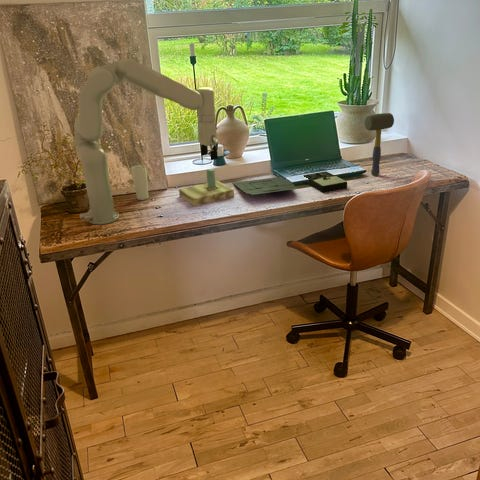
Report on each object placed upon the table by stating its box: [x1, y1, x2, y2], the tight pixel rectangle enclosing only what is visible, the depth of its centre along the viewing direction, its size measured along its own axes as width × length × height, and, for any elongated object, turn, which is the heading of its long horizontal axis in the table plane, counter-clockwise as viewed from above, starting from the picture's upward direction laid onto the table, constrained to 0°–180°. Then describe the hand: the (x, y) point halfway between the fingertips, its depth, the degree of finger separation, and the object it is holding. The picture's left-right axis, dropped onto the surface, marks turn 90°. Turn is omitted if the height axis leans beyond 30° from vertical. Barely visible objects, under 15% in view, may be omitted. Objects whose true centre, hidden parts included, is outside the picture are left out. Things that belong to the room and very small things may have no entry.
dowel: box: [206, 168, 216, 190], centre depth 218 cm, size 4×4×12 cm
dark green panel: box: [233, 176, 296, 196], centre depth 223 cm, size 24×30×4 cm
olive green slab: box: [178, 180, 235, 207], centre depth 218 cm, size 20×16×4 cm
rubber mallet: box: [364, 112, 395, 177], centre depth 229 cm, size 12×8×30 cm, turn 108°
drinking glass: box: [130, 164, 150, 201], centre depth 217 cm, size 7×7×15 cm
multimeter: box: [303, 170, 348, 194], centre depth 225 cm, size 13×19×5 cm
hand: (209, 157), depth 212 cm, fingers open, 9 cm apart
